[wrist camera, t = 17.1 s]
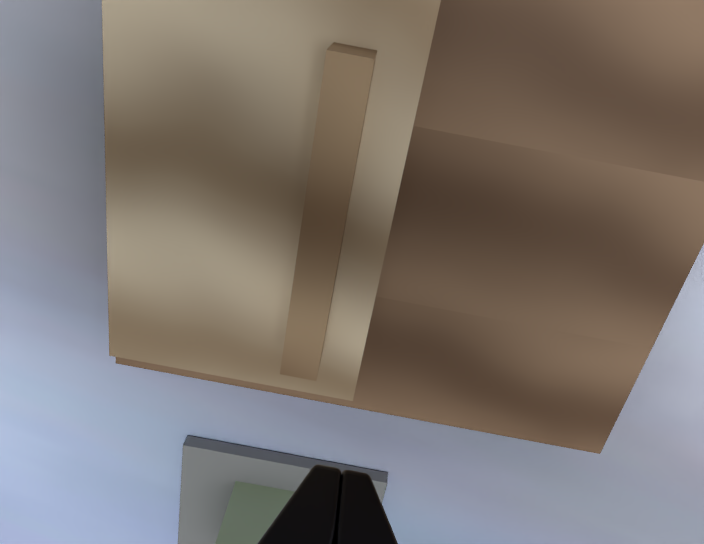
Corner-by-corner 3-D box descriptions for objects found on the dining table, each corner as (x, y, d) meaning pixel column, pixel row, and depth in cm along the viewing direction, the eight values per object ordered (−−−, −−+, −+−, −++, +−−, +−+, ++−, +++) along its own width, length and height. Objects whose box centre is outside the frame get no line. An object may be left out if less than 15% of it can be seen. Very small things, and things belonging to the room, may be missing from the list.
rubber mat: (359, 573, 29) (358, 585, 29) (181, 540, 29) (177, 551, 29) (387, 472, 26) (387, 483, 26) (187, 435, 26) (183, 445, 26)
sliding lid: (354, 387, 22) (348, 435, 20) (118, 343, 22) (86, 386, 20) (443, -21, 16) (450, -20, 14) (113, -86, 16) (63, -95, 14)
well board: (589, 427, 24) (599, 453, 23) (131, 341, 24) (115, 363, 23) (786, 6, 17) (819, 8, 16) (131, -122, 17) (108, -130, 15)
